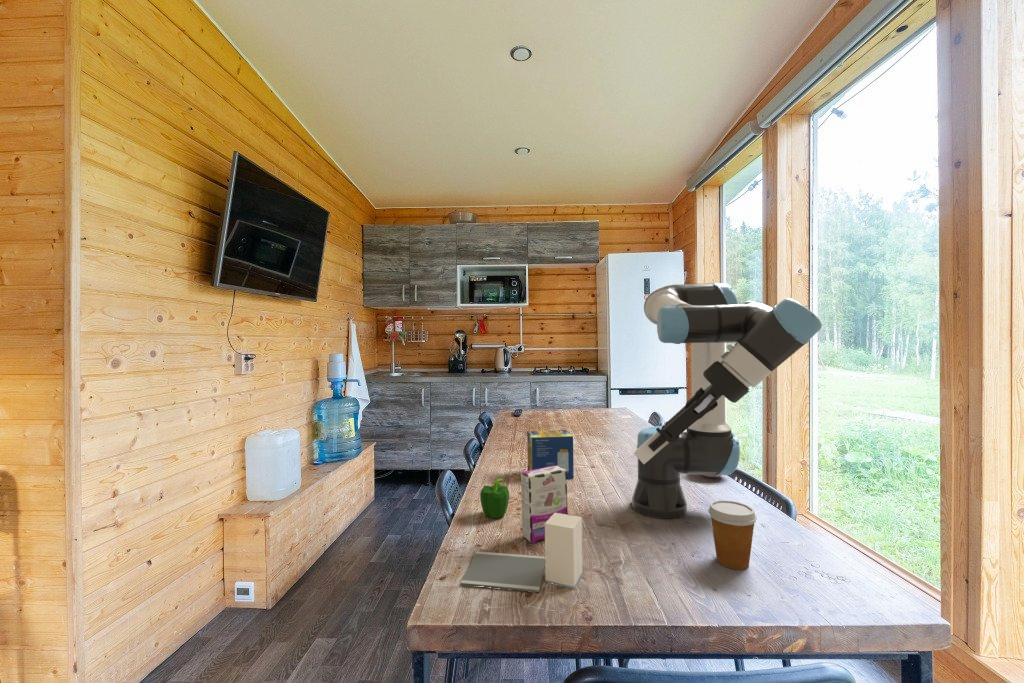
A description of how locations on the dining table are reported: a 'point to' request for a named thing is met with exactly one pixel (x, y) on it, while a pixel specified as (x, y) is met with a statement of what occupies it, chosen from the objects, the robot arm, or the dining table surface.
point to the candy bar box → (542, 499)
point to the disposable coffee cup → (732, 532)
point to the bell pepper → (494, 500)
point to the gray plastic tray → (505, 571)
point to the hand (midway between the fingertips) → (640, 457)
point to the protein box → (550, 450)
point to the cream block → (563, 550)
